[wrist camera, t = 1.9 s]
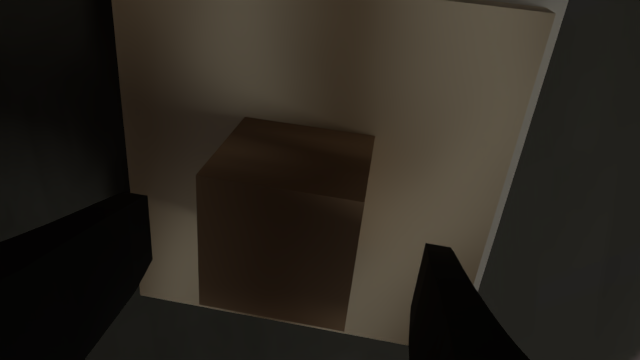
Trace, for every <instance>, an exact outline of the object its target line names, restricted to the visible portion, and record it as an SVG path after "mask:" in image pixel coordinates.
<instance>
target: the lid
mask: <svg viewBox="0 0 640 360" xmlns="http://www.w3.org/2000/svg"><path fill="white" fill-rule="evenodd" d="M111 1H112V11H113V21H114V32H115V42H116V52H117V62H118V72H119V82H120V92H121V102H122V113H123V123H124V133H125V143H126V153H127V163H128V173H129V183H130V193H135V194H141V195H147V196H148V207H149V220H150V232H151V245H152V257H153V260H152V261H151V263H150V265H149V267H148V269H147V271H146V273H145V275H144V277H143V279H142V280H141V282H140V284H139V285H140V295H142V296H148V297H153V298H158V299H164V300H169V301H174V302H180V303H185V304H190V305H196V306H201V307H206V308H212V309H217V310H222V311H228V312H233V313H238V314H244V315H249V316H254V317H260V318H265V319H270V320H276V321H281V322H286V323H292V324H297V325H302V326H308V327H313V328H318V329H324V330H329V331H334V332H340V333H345V334H350V335H356V336H361V337H366V338H372V339H377V340H382V341H388V342H393V343H398V344H404V345H409V324H410V309H411V303H412V299H413V294H414V290H415V286H416V282H417V277H418V273H419V269H420V265H421V260H422V256H423V252H424V248H425V243H429V244H435V245H440V246H446V247H451V248H452V250H453V251H454V253H455V255H456V256H457V258H458V260H459V262H460V263H461V265H462V267H463V269H464V270H465V272H466V274H467V275H468V277H469V279H470V280H471V282H472V284H474V281H475V278H476V275H477V271H478V268H479V265H480V261H481V258H482V255H483V252H484V248H485V245H486V242H487V238H488V235H489V232H490V229H491V225H492V222H493V219H494V215H495V212H496V209H497V205H498V202H499V199H500V196H501V192H502V189H503V186H504V182H505V179H506V176H507V173H508V169H509V166H510V163H511V159H512V156H513V153H514V150H515V146H516V143H517V140H518V136H519V133H520V130H521V127H522V123H523V120H524V117H525V113H526V110H527V107H528V104H529V100H530V97H531V94H532V90H533V87H534V84H535V81H536V77H537V74H538V71H539V67H540V64H541V61H542V58H543V54H544V51H545V48H546V44H547V41H548V38H549V34H550V31H551V28H552V25H553V21H554V18H555V15H556V13H554V12H552V11H551V10H549V9H548V8H545V7H537V6H529V5H520V4H512V3H503V2H495V1H487V0H111Z"/></svg>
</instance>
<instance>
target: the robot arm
mask: <svg viewBox="0 0 640 360" xmlns="http://www.w3.org/2000/svg"><path fill="white" fill-rule="evenodd" d="M152 260H153V257H152V245H151V232H150V220H149V207H148V196H147V195H141V194H135V193H129V192H124V193H121V194H118V195H115V196H112V197H110V198H107V199H105V200H103V201H100V202H98V203H95V204H93V205H91V206H89V207H86V208H84V209H82V210H79V211H77V212H75V213H72V214H70V215H68V216H65V217H63V218H61V219H58V220H56V221H54V222H51V223H49V224H46V225H44V226H41V227H39V228H36V229H34V230H31V231H28V232H26V233H23V234H21V235H18V236H16V237H13V238H10V239H8V240H5V241H2V242H0V360H84V359H85V358H86V357H87V355H88V354H89V353H90V351H91V350H92V349H93V347H94V346H95V345H96V343H97V342H98V341H99V339H100V338H101V337H102V335H103V334H104V333H105V331H106V330H107V329H108V327H109V326H110V325H111V323H112V322H113V321H114V319H115V318H116V317H117V315H118V314H119V313H120V311H121V310H122V309H123V307H124V306H125V305H126V303H127V302H128V301H129V299H130V298H131V296H132V295H133V294H134V292H135V291H136V289H137V287H138V286H139V284H140V282H141V280H142V279H143V277H144V275H145V273H146V271H147V269H148V267H149V265H150V263H151V261H152ZM409 360H530V359H529V358H528V357H527V356H526V355H525V354H524V353H523V352H522V351H521V349H520V348H519V347H518V346H517V345H516V344H515V343H514V341H513V340H512V339H511V338H510V337H509V335H508V334H507V333H506V332H505V330H504V329H503V328H502V326H501V325H500V324H499V322H498V321H497V320H496V318H495V317H494V315H493V314H492V313H491V311H490V310H489V308H488V307H487V305H486V304H485V302H484V301H483V299H482V298H481V296H480V295H479V293H478V292H477V290H476V289H475V287H474V285H473V284H472V282H471V280H470V279H469V277H468V275H467V274H466V272H465V270H464V269H463V267H462V265H461V263H460V262H459V260H458V258H457V256H456V255H455V253H454V251H453V250H452V248H451V247H446V246H440V245H435V244H429V243H425V248H424V252H423V256H422V260H421V265H420V269H419V273H418V277H417V282H416V286H415V290H414V294H413V299H412V303H411V309H410V324H409Z"/></svg>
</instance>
